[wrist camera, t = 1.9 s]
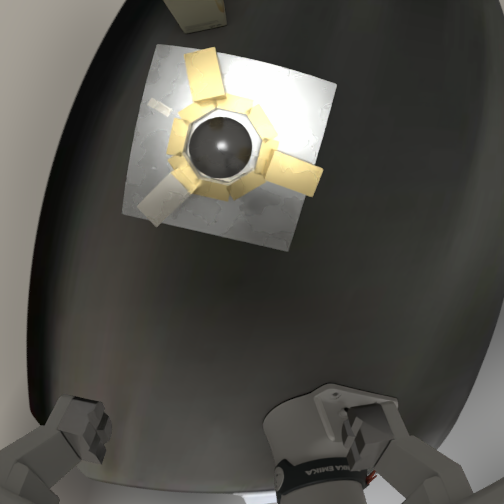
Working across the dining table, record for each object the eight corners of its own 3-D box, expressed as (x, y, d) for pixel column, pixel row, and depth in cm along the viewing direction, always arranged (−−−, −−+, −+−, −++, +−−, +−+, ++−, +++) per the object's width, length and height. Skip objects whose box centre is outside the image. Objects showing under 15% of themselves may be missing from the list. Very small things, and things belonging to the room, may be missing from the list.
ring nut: (332, 89, 25) (347, 83, 21) (288, 240, 30) (295, 259, 26) (184, 53, 23) (173, 41, 19) (149, 208, 29) (134, 222, 24)
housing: (332, 86, 26) (349, 78, 21) (286, 246, 32) (293, 267, 28) (161, 48, 24) (145, 33, 19) (127, 209, 30) (107, 225, 26)
